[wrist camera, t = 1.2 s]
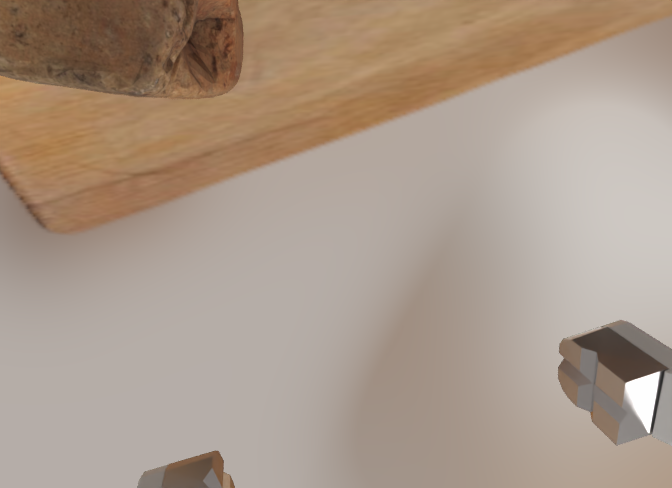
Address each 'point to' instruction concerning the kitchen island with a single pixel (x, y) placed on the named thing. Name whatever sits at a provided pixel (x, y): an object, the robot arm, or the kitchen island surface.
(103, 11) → the block
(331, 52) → the kitchen island surface
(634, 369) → the robot arm
